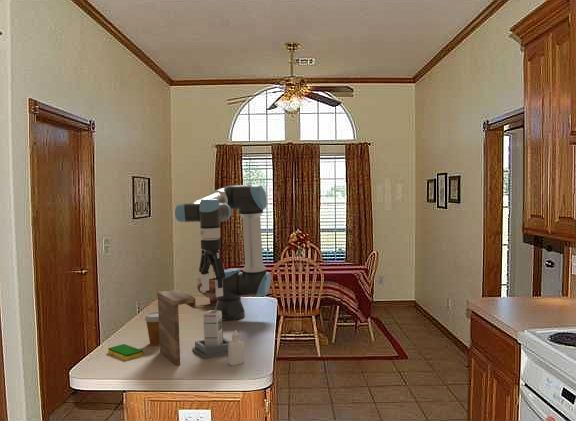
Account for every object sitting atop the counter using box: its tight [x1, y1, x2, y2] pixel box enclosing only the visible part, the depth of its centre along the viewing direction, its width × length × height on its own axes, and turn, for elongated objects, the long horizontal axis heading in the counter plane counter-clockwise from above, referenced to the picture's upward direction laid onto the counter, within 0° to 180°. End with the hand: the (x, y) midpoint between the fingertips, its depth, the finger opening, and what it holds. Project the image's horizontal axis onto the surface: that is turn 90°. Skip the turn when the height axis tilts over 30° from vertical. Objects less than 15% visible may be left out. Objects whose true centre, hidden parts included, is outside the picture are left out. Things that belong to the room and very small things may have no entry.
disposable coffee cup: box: [144, 311, 160, 346], centre depth 219 cm, size 10×10×12 cm
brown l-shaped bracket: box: [156, 289, 197, 366], centre depth 201 cm, size 8×20×24 cm, turn 31°
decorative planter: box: [197, 277, 217, 306], centre depth 291 cm, size 20×12×14 cm, turn 90°
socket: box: [191, 337, 231, 359], centre depth 207 cm, size 13×13×4 cm
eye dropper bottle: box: [227, 330, 245, 366], centre depth 192 cm, size 4×6×12 cm
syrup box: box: [202, 309, 224, 347], centre depth 207 cm, size 6×6×14 cm
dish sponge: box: [107, 343, 144, 361], centre depth 206 cm, size 7×14×2 cm, turn 47°
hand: (212, 293), depth 206 cm, fingers open, 13 cm apart
